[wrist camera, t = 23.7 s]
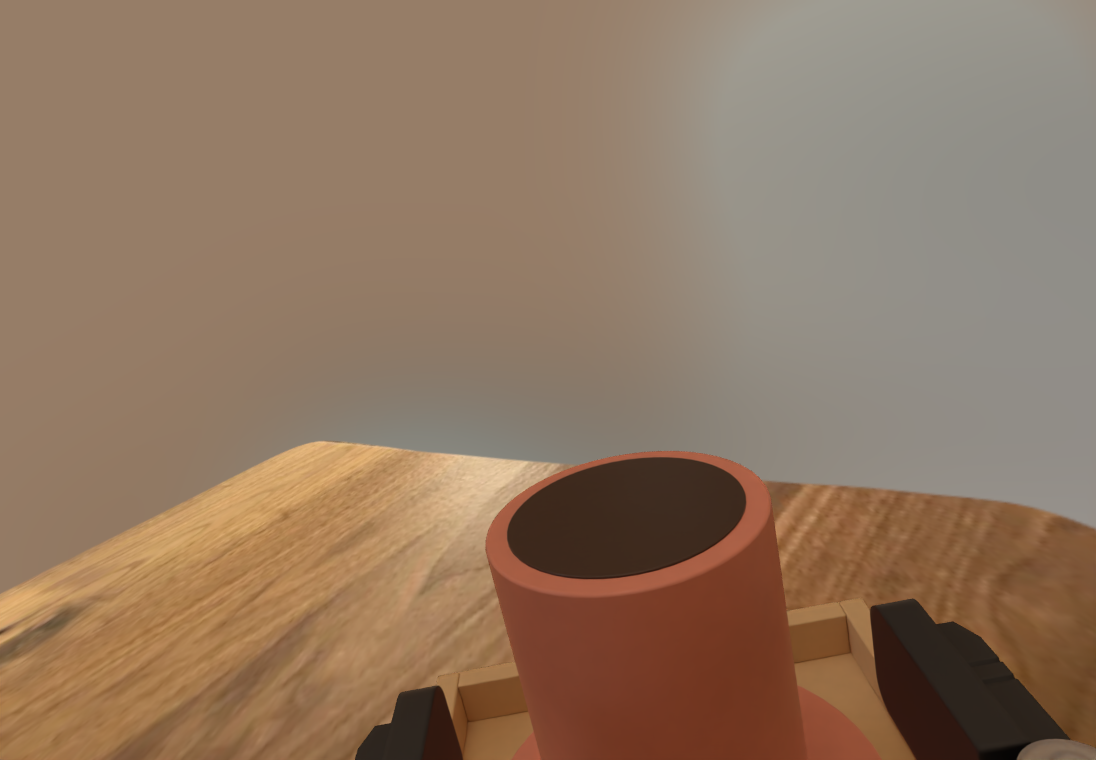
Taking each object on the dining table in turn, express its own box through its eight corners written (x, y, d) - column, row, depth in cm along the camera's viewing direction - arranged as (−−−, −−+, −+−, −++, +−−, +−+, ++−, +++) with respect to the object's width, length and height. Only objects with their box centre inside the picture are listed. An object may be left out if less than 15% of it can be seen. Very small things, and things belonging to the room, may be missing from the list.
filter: (426, 905, 20) (310, 568, 17) (658, 678, 27) (601, 402, 24) (771, 1233, 13) (672, 754, 10) (976, 816, 20) (952, 445, 17)
